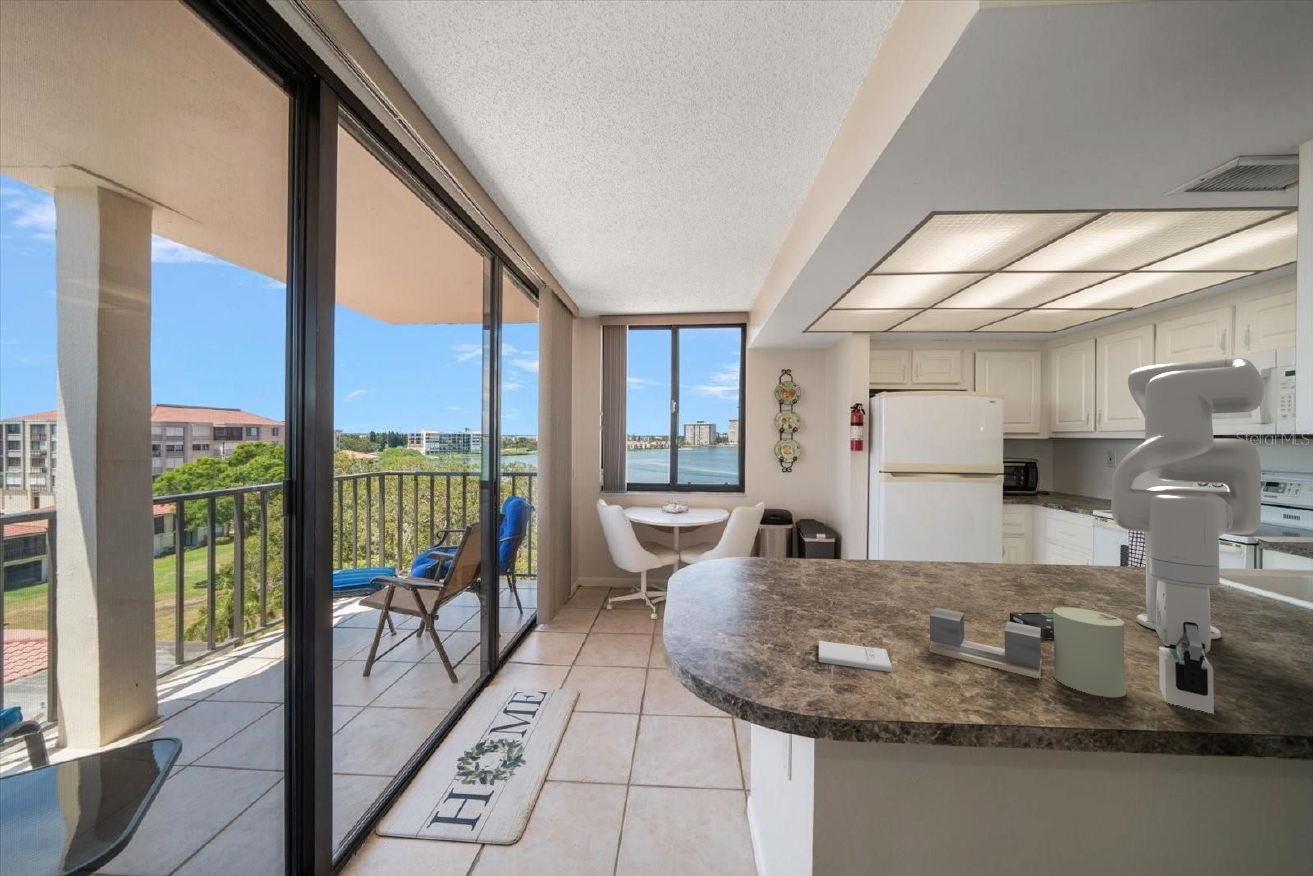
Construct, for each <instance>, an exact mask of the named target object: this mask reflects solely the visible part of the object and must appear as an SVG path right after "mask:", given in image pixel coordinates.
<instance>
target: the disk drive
mask: <svg viewBox="0 0 1313 876" xmlns="http://www.w3.org/2000/svg"><path fill="white" fill-rule="evenodd" d="M1009 622H1013V623H1018V624H1024V625H1029V626H1034V627H1039V628H1041V637H1042V638H1053V639H1052V640H1054V615H1053V612H1022V611H1019V612H1016V611H1014V612H1011V611H1010V612H1009ZM1042 638H1041V639H1042Z"/></svg>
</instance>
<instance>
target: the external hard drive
mask: <svg viewBox="0 0 1313 876" xmlns="http://www.w3.org/2000/svg"><path fill="white" fill-rule="evenodd" d="M818 662H819V663H824V664H832V665H840V666H846V667H852V668H853V667H854V668H860V669H866V670H872V671H873V670H874V671H882V672H887V673H892V672H893V668H892V663H891V661H890V658H889V654H888V651H887V649H886V648H885V649H884V648H876V647H869V646H863V645H855V644H847V643H841V642H840V643H839V642H831V641H824V640H818Z"/></svg>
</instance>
